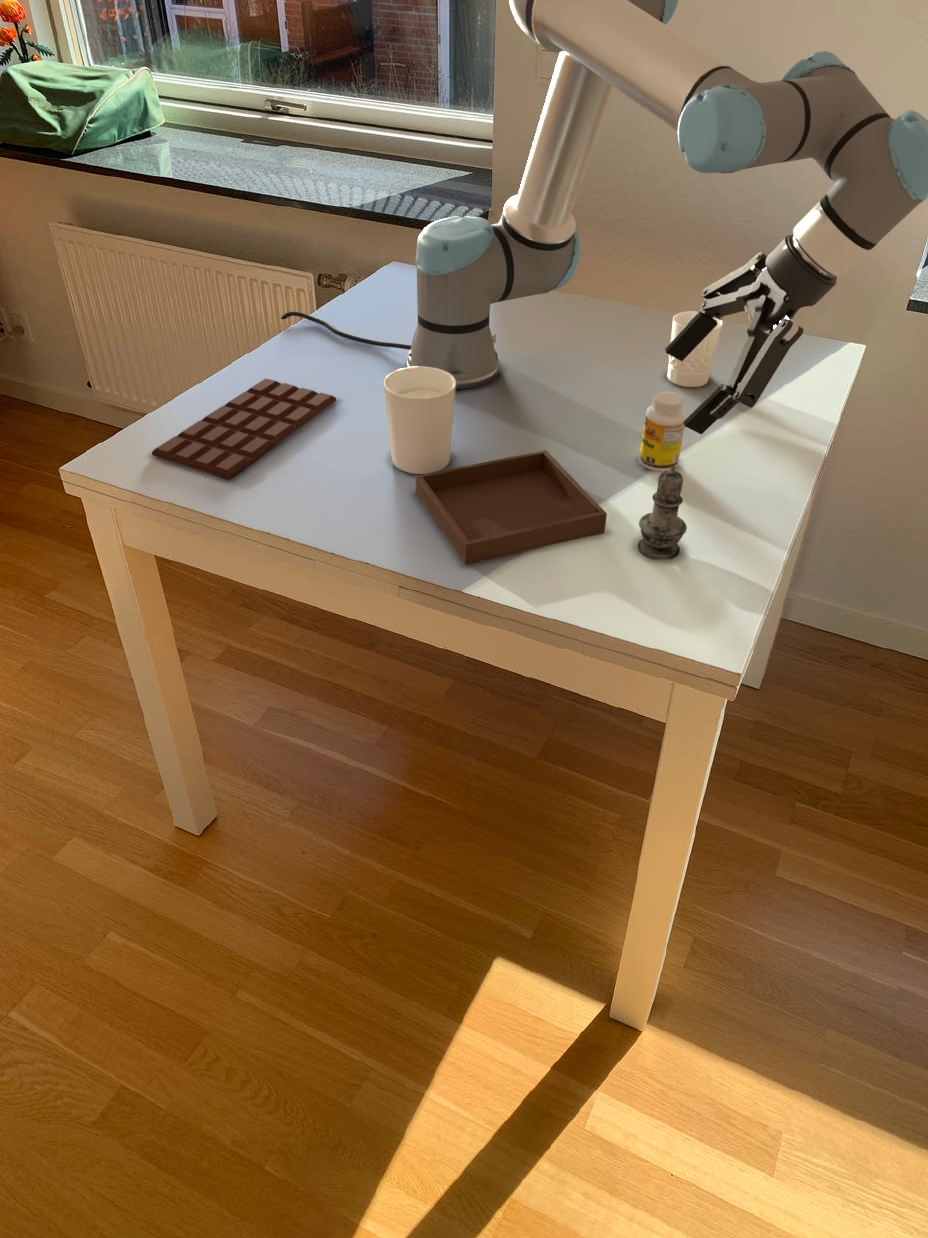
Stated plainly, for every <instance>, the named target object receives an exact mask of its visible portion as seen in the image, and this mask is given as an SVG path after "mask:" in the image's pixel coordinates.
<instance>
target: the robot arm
mask: <svg viewBox="0 0 928 1238" xmlns="http://www.w3.org/2000/svg"><path fill="white" fill-rule="evenodd" d="M679 1H680V0H508V2H509V6H510V10H511V13H512V16H513V18H514V20H515V21H516V24H517V25H518V26H519V27H520V30H522V31H523V32H524V33H525V35H527V37H529V38H530V39H531V41H533V42H534V43H536V44H537V45H539V46H540V47H541V48H543V49H545V50H546V51H548V52H551V53H556V54H559V55H558V58H557V62H556V64H555V67H554V72H553V75H552V79H551V82H550V85H549V88H548V92H547V94H546V95H547V96H546V99H545V103H544V106H543V109H542V113H541V115H540V119H539V122H538V126H537V128H536V129H537V130H536V133H535V136H534V140H533V142H532V147H531V149H530V153H529V156H528V160H527V163H526V166H525V170H524V174H523V177H522V180H521V184H520V188H519V190H518V194H515V195H513V196H511V197H510V198H508V200H507V201H506V202H505V204H504V207H503V210H502V213H501V217H500V220H499V222H498V223H493V224H491V222H490V221H489V220H488V219H486V218H483V217H480V216H477V215H465V216H460V215H455V216H450V217H445V218H442V219H439V220H435V221H434V222H431V223H430V224H428V225H427V226H426V227H424V228H423V230H421V232H420V234H419V235H418V237H417V243H416V255H415V261H414V262H415V268H416V302H417V303H416V311H417V312H416V313H417V324H416V329H415V331H414V335H413V337H412V341H411V344H406V343H398V342H387V341H380V340H373V339H368V338H363V337H360V336H356V335H353V334H349V333H346V332H343V331H341V330H339V329H338V328H335V327H334V326H332V325H331V324H330V323H329V322H327V321H325V320H323V319H320V318H317V317H315V316H312V315H309V314H307V313H304V312H301V311H300V312H299V311H288V312H286V313H284V314H282V316H281V317H280V319H281V320H286V319H288V318H290V317H300V318H302V319H305V320H308V321H311V322H313V323H316V324H319V325H321V326H323V327H325V328H326V329H328V330H329V331H330V332H332V333H333V334H334V335H337V336H339V337H341V338H344V339H347V340H351V341H354V342H358V343H362V344H367V345H372V346H376V347H377V346H378V347H384V348H395V349H402V350H408V353H407V357H406V358H407V359H406V368H407V367H432V368H437V369H441V370H444V371H446V372H448V373H450V374H451V375H452V376H453V377H454V378H455V380H456V389H455V390H466V389H467V390H468V389H473V388H477V387H480V386H481V387H482V386H483V385H486V384H488V383H490V382H491V381H493V380H494V379H495V378H496V377H497V376H498V374H499V371H500V360H499V355H498V352H497V350H496V349H495V343H497V334H492V331H491V327H490V316H491V315H490V313H491V305H492V304H496V303H500V302H505V301H511V300H516V299H520V298H521V299H522V298H525V297H531V296H536V295H542V294H543V295H544V294H549V293H550V292H552V291H555V290H557V289H560V288H562V287H564V286H565V285H566V284H568V283H569V282H570V281H571V280H572V278H574V276H575V274H576V272H577V270H578V267H579V263H580V260H581V255H582V253H581V251H582V250H581V249H580V248H579V246H580V245H581V236H580V233H579V230H578V228H577V223H576V220H575V217H574V215H573V214H572V211H573V208H574V205H575V202H576V200H577V197H578V194H579V191H580V188H581V186H582V183H583V180H584V177H585V174H586V171H587V169H588V166H589V163H590V160H591V157H592V154H593V152H594V148H595V146H596V143H597V140H598V137H599V134H600V132H601V129H602V126H603V123H604V121H605V117H606V115H607V112H608V109H609V106H610V103H611V101H612V98H613V95H614V92H615V89H616V90H618V91H619V92H621V93H622V94H624V95H625V96H626V97H628V98H629V99H631V100H632V101H633V102H635V103H636V104H637V105H639V106H640V107H641V108H643V109H644V110H645V111H647V112H648V113H650V114H651V115H653V116H654V117H656V118H657V119H659V121H661V122H662V123H664V124H665V125H667V126H668V127H670V128H671V129H672V130H674V131H675V132H676V133H677V140H678V146H679V147H678V148H679V151H680V152H682V153H683V155H684V160H685V163H686V164H687V165H688V166H689V167H690V168H691V169H693V170H694V171H696V172H698V173H701V174H717V173H718V174H734V173H737V172H740V171H743V170H748V169H754V168H759V167H763V166H770V165H775V164H782V163H787V162H788V163H789V162H794V161H800V160H801V161H802V160H806V159H813V161H815V162H816V163H817V165H818V166H819V167H820V168H821V169H822V170H823V172H824V173H825V175H827V177H828V178H829V179H830V180H831V181H833V182H834V184H833V186H831V188H830V189H829V190H828V191H827V193H826V194H825V195H824V196H822V198H821V199H820V200H819V201H818V202H817V203H816V204H815V205H814V206H813V207H812V208H811V209H810V210H809V211H807V213H806V214H805V215H804V216H803V217H802V218H801V220H799V222H798V223H796V225H794V227H793V230H792V234H790V235H786V236H785V237H784V238H783V239H782V240H781V241H780V242H779V243H778V244H777V246H775V247H774V249H773V250H771V252H770V253H769V254H768V255H766V253H764V252H762V251H759V252H757V253H756V254H755V255H754V256H753V257H752V258H751V259H750V260H749V261H748V262H747V263H745V264H743V265H742V266H740V267H738V268H736V269H735V270H733V271H731V272H730V273H728V274H727V275H724V276H723V277H721V278H720V279H719V280H716V281H715V282H713V283H711V284H709V285H707V286H706V287H704V289H702V291H701V297H702V298H703V299H704V300H703V301H702V303H701V304H700V309H699V312H698V313H697V314H696V315H695V316H694V318H692V319H691V320H690V321H689V323H688V324H687V325H686V327H685V328H684V329H683V330H682V331H681V332H680V333H679V335H678V336H677V337H676V338H675V339H674V340H673V341H672V342H671V343H670V342H669V344H668V345H666V347H665V348H664V351H665V354H667V355H668V356H669V355H671V356H673V357H675V358H676V359H678V360H680V361H683V360H684V359H685V358H686V357H687V356H688V355H689V354H690V353H691V352H692V351H693V350H694V349H695V347H696V346H697V345H698V344H699V343H700V342H701V341H702V340H703V339H704V338H705V337H706V336H707V335H708V334H709V333H710V332H711V331H712V330H713V329H714V328H715V327H716V326H717V321H716V320H715V319H713V317H715V318H717V319H719V320H722V321H723V317H725V316H730V315H734V314H738V313H741V312H745V313H746V314H747V321H748V324H749V325H748V326H747V330H746V332H747V338H746V341H745V343H744V345H743V347H742V350H741V352H740V354H739V356H738V359H737V361H736V364H735V367H734V369H733V371H732V373H731V375H730V377H729V380H728V381H727V382H728V383H727V384H726V385H725V384H723V383H721V384H720V385H719V386H718V387H717V388H716V389H715V390H714V391H713V392H712V393H711V394H710V395H709V396H708V397H707V398H705V400H704V401H703V402H702V403H700V405H699V406H698V407H697V408H696V409H694V410H693V412H691V414H689V415H688V416H687V417H686V420H685V421H684V426H685V428H687V429H689V430H691V431H693V432H695V433H697V434H699V435H703V434H704V433H705V432H706V431H707V430H708V429H710V427H711V426H712V425H714V424H715V422H717V421H718V420H720V419H722V418H724V416H726V414H728V413H729V412H730V411H731V410H732V409H733V408H734V407H736V405H737V404H738V403H739V404H741V405H743V406H745V407H747V408H748V409H752V408H754V407H755V405H756V404H757V402H758V401H759V399H760V398H761V396H762V395H763V393H764V391H765V390H766V388H767V386H768V384H769V383H770V381H771V380H772V378H773V376H774V374H775V373H776V371H777V370H778V369H779V367H780V365H781V363H782V362H783V360H784V358H785V357H786V355H787V353H788V352H789V350H790V348H791V347H792V346H793V345H794V344H795V343H796V342H797V341H798V340H799V339H800V338H801V337H802V335H803V334H804V331H805V330H804V328H803V327H802V326H800V325H798V324H797V323H796V321H794V317H795V316H796V314H797V312H798V311H799V310H800V309H801V308H804V307H813V306H815V305H816V304H817V303H819V302H820V301H821V300H822V299H823V298H824V297H825V296H826V295H827V294H828V293H829V292H830V291H831V290H832V289H833V288H834V287H835V286H836V285H837V282H838V278H843V277H845V276H846V274H848V273H849V272H850V271H851V270H852V269H853V268H854V267H855V266H856V265H857V264H858V263H859V262H860V261H861V260H862V259H863V258H864V257H865V256H866V255H867V254H868V253H869V252H870V251H871V250H872V249H874V248H875V247H876V246H877V245H878V244H879V242H881V241H882V240H883V239H884V238H886V236H887V235H888V234H889V233H890V232H891V231H892V230H893V229H894V228H895V227H896V226H897V225H899V224H900V222H902V221H903V220H904V219H905V218H906V217H907V216H908V215H909V214H910V213H911V212H913V210H915V209H916V208H917V207H918V206H919V205H920V204H922V203H924V201H925V200H927V199H928V119H927V118H926V117H925V116H923V115H922V114H921V113H920V112H917V111H915V110H913V109H911V110H906V111H904V112H902V113H901V114H900V115H899V116H898V117H897V118H892V117H891V116H890V114H889V113H888V112H887V111H886V109H885V108H884V107H883V106H882V104H880V102H879V101H878V100H877V99H876V98H875V96H874V95H873V94H872V93H871V92H870V91H869V89H868V88H867V86H866V85H865V84H864V83H863V82H862V81H861V80H860V78H859V77H858V75H857V74H856V72H855V71H854V69H851V67H850V66H848V65H846V64H845V63H844V62H843V61H842V60H841V59H840V58H839V57H838V56H837V55H836V54H834V53H832V52H831V51H826V50H821V51H814V53H811V54H810V55H809V56H808V57H807V58H806V59H804V58H802V59H800V60H798V61H797V62H796V63H795V64H793V65H792V67H791V68H790V69H789V70H788V71H787V72H786V73H785V75H784V76H783V77H782V79H780V80H774V81H764V82H758V81H755V80H752V79H751V78H749V77H747V76H746V75H744V74H742V73H741V72H739V71H737V70H736V69H734V68H732V67H731V66H729V64H727V63H725V62H723V61H722V60H721V59H719V58H718V57H716V56H714V55H713V54H712V53H710V52H708V51H706V50H705V49H704V48H702V47H700V46H699V45H697V44H696V43H694V42H692V41H691V40H690V39H688V38H687V37H685V36H683V35H682V34H680V33H679V32H678V31H676V30H674V29H673V28H671V27H669V26H668V25H667V24H668V23H669V22H670V21H671V19H672V18H673V16H674V15H675V12H676V10H677V7H678V4H679ZM766 331H767V332H768V333H767V332H766Z"/></svg>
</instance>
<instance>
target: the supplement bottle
mask: <svg viewBox="0 0 928 1238" xmlns="http://www.w3.org/2000/svg"><path fill="white" fill-rule="evenodd" d="M683 405H684V398H683V396H682V395H680V394H679V393H676V392H672V391H660V392H657V393H655V395H654V396H653V401H652V404H651V405H650V406H649V407H647V409H646V411H645V417H644V423H643V430H642V436H641V444H640V449H639V455H638V456H639V457H638V458H639V459H638V460H639V462H640V464H641V465H642V466H643V467H644V468H646V469H648V470H651V471H653V472H663V471H666V470H671V469H670V467H671V466H673V465H674V466H675V468H677V465H678V463H679V459H680V454H681V449H682V444H683V439H684V433H685V429H686V427H685V426H684V421H685V420H686V419H687V413H686V411H685V410H684V409H683Z"/></svg>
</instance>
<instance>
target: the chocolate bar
mask: <svg viewBox="0 0 928 1238" xmlns="http://www.w3.org/2000/svg"><path fill="white" fill-rule="evenodd" d="M336 402H337V397H335V396H333V395H331V394H328V393H325V392H324V393H323V392H317V391H314V390H312V389H308V388H304V387H301V388H300V387H297V386H296V385H293V384H289V383H285V382H283V383H281V382H279V381H277V380H273V379H270V378H263V379H262V380H260V381H259V382H258V383H256V384H255V385H252V386H251V387H249V389H248V390H246V391H243V392H242V393H240V394H239V395H237V396H236V397H234V398H233V399H231V400H230V401H228V402H227V403H225V404H224V405H221V406H220V407H219V408H217V409H216V410H214V411H212V412H211V413H209V414H208V415H206V416H204V417H203V418H202V419H201V420H197V422H195V423H194V424H192V425H190V426H189V427H187V428H185V429H183V431H181V432H180V433H178V435H176V436H173V437H171V438H170V439H168V440H167V441H165V442H164V443H162V444H160V445H158V446H157V447H156V448H155V449H154V450H152V451H151V455H152V456H154V457H157V458H160V459H163V460H165V461H170V462H172V463H173V462H174V463H175V464H176V463H177V464H179V465H184V466H186V467H189V468H193V469H196V470H199V471H202V472H205V473H208V474H212V475H214V476H218V477H222V478H225V479H228V480H229V479H231V478H232V477H234V476H235V475H236V474H238V473H239V472H241V471H242V470H244V469H245V468H246V467H248V466H249V465H250V464H252V463H253V462H255V461H256V460H257V459H259V458H260V457H261V456H262V455H264V454H265V453H267V452H268V451H270V450H271V449H272V448H274V447H275V446H276V445H278V444H279V443H280V442H282V441H283V440H284V439H286V438H287V437H288V436H290V435H291V434H293V433H294V432H295V431H297V430H299V428H301V427H302V426H304V425H305V424H306V423H308V422H309V421H311V420H312V419H314V418H315V417H316V416H318V415H319V414H320V413H322V412H324V410H326V409H327V408H329V407H330V406H331V405H333V404H334V403H336Z"/></svg>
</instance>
